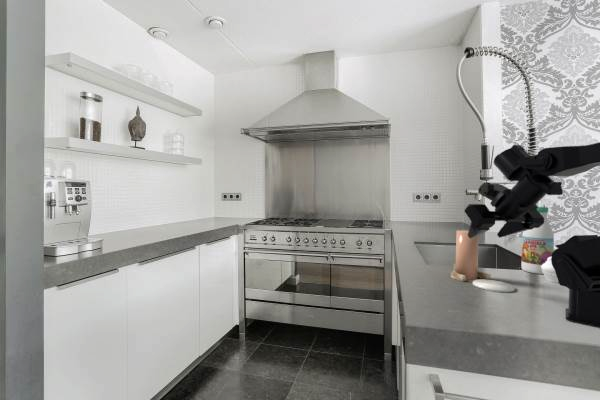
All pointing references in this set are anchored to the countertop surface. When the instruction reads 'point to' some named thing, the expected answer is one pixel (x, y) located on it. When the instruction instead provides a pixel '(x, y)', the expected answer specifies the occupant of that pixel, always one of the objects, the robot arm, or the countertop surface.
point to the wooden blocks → (463, 277)
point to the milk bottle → (537, 245)
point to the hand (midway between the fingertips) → (484, 236)
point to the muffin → (549, 271)
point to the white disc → (493, 285)
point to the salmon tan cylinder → (467, 255)
